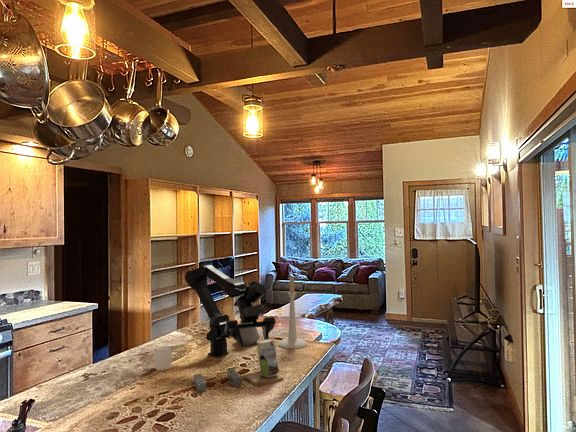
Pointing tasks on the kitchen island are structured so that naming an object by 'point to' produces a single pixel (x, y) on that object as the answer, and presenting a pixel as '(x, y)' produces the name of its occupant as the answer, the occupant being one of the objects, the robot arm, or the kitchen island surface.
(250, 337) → the coffee pot
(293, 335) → the candlestick
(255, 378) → the walnut board
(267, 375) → the beverage can
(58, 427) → the kitchen island surface
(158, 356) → the shot glass
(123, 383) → the kitchen island surface
